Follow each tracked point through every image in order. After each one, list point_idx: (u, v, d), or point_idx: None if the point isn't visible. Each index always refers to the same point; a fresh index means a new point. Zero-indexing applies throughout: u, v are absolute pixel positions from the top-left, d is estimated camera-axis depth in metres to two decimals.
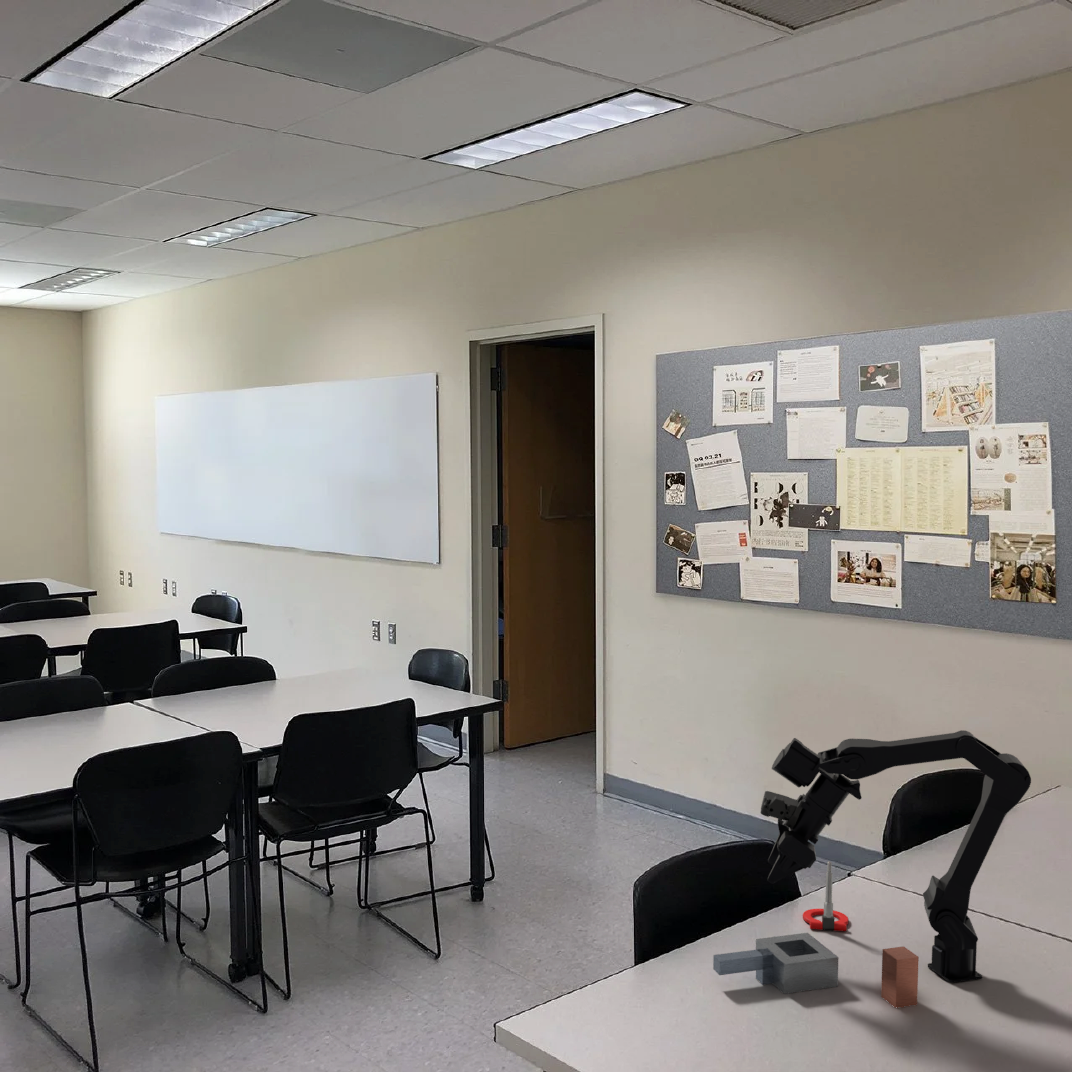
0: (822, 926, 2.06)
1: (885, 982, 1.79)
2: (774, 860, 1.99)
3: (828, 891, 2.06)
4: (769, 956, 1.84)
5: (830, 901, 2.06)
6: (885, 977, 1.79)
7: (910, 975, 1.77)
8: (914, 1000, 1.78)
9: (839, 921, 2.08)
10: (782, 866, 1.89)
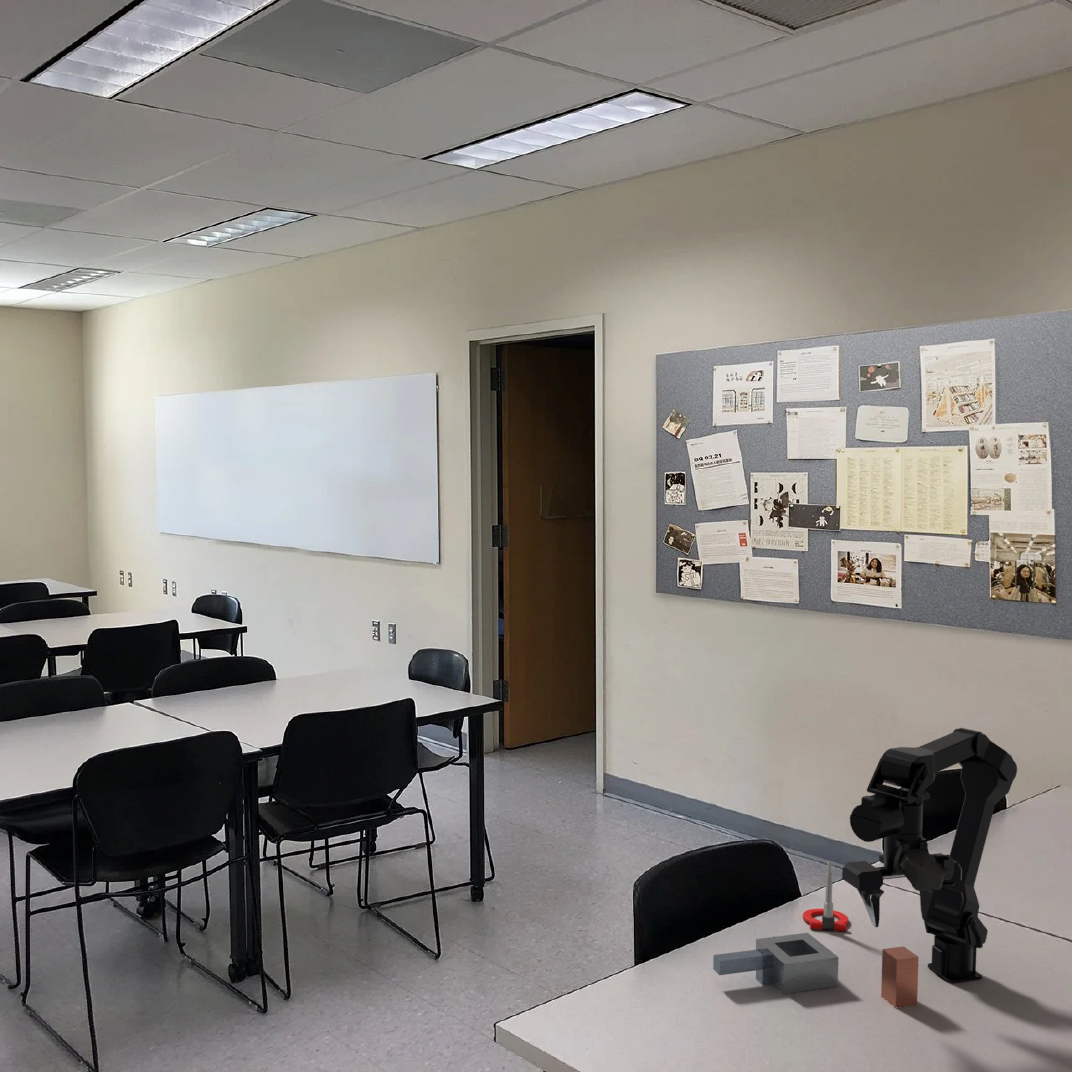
0: (822, 926, 2.06)
1: (885, 982, 1.79)
2: None
3: (828, 891, 2.06)
4: (769, 956, 1.84)
5: (830, 901, 2.06)
6: (885, 977, 1.79)
7: (910, 975, 1.77)
8: (914, 1000, 1.78)
9: (839, 921, 2.08)
10: None
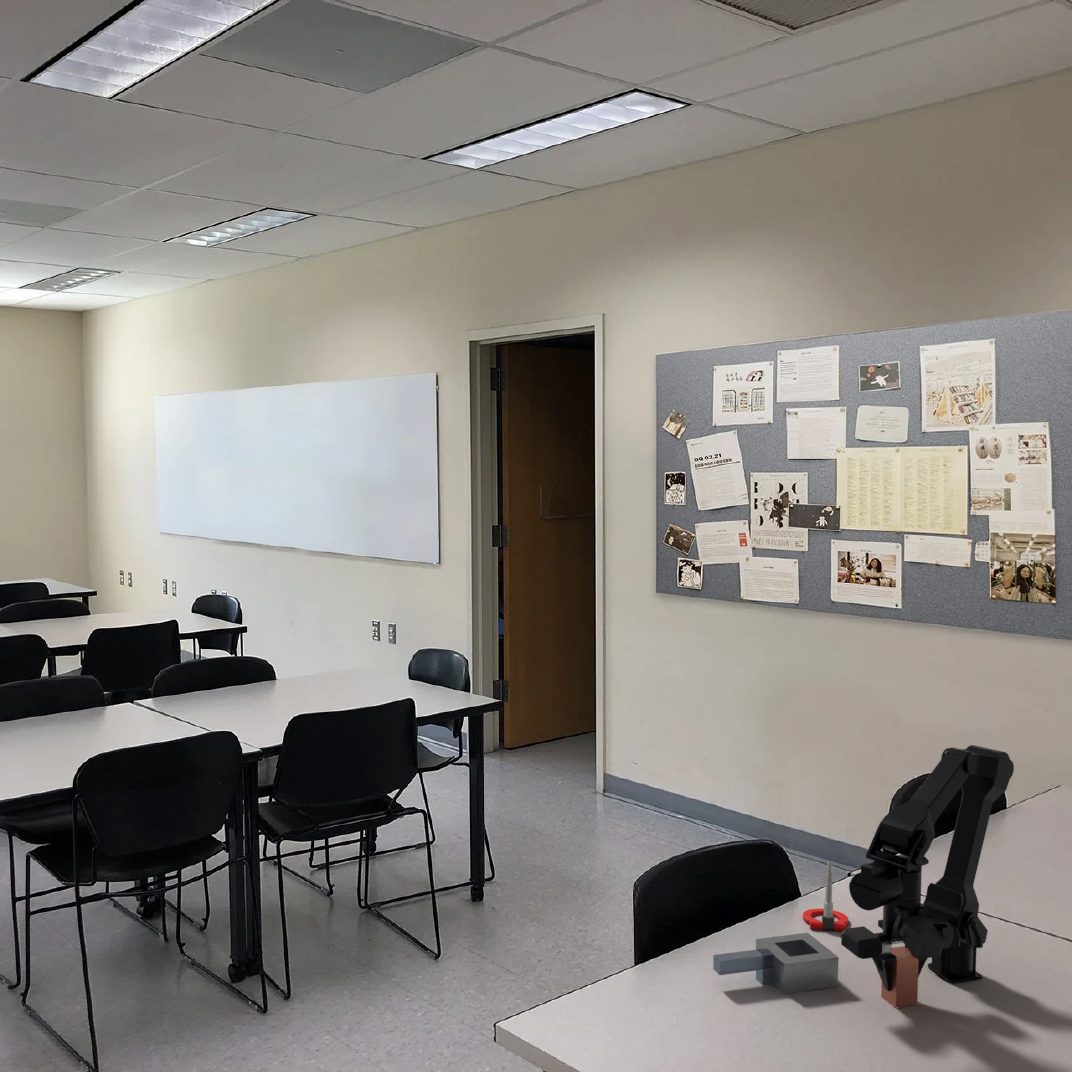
0: (822, 926, 2.06)
1: None
2: None
3: (828, 891, 2.06)
4: (769, 956, 1.84)
5: (830, 901, 2.06)
6: None
7: (910, 975, 1.77)
8: (914, 1000, 1.78)
9: (839, 921, 2.08)
10: None
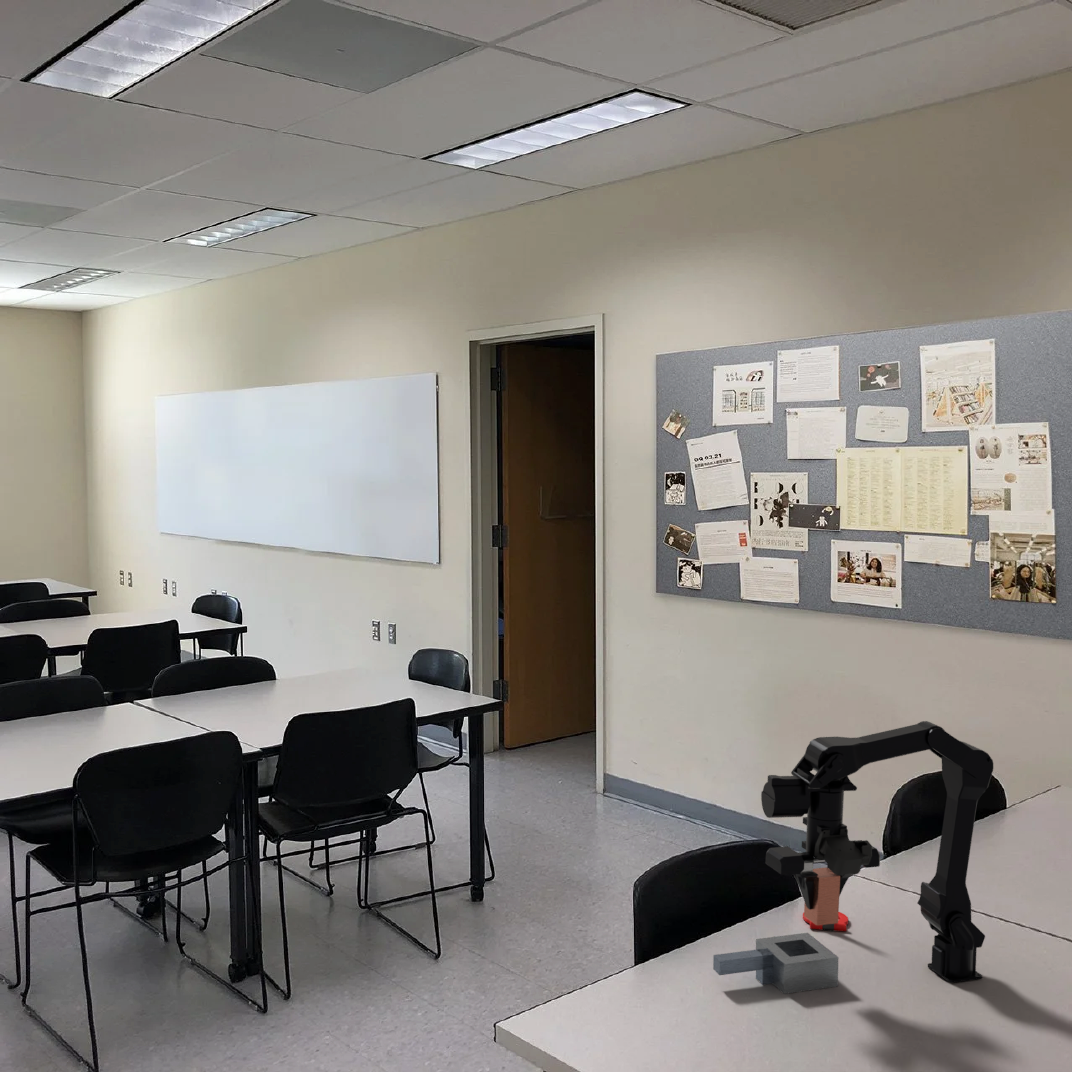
0: (822, 926, 2.06)
1: None
2: None
3: None
4: (769, 956, 1.84)
5: None
6: None
7: (831, 893, 1.82)
8: (835, 918, 1.83)
9: (839, 921, 2.08)
10: None
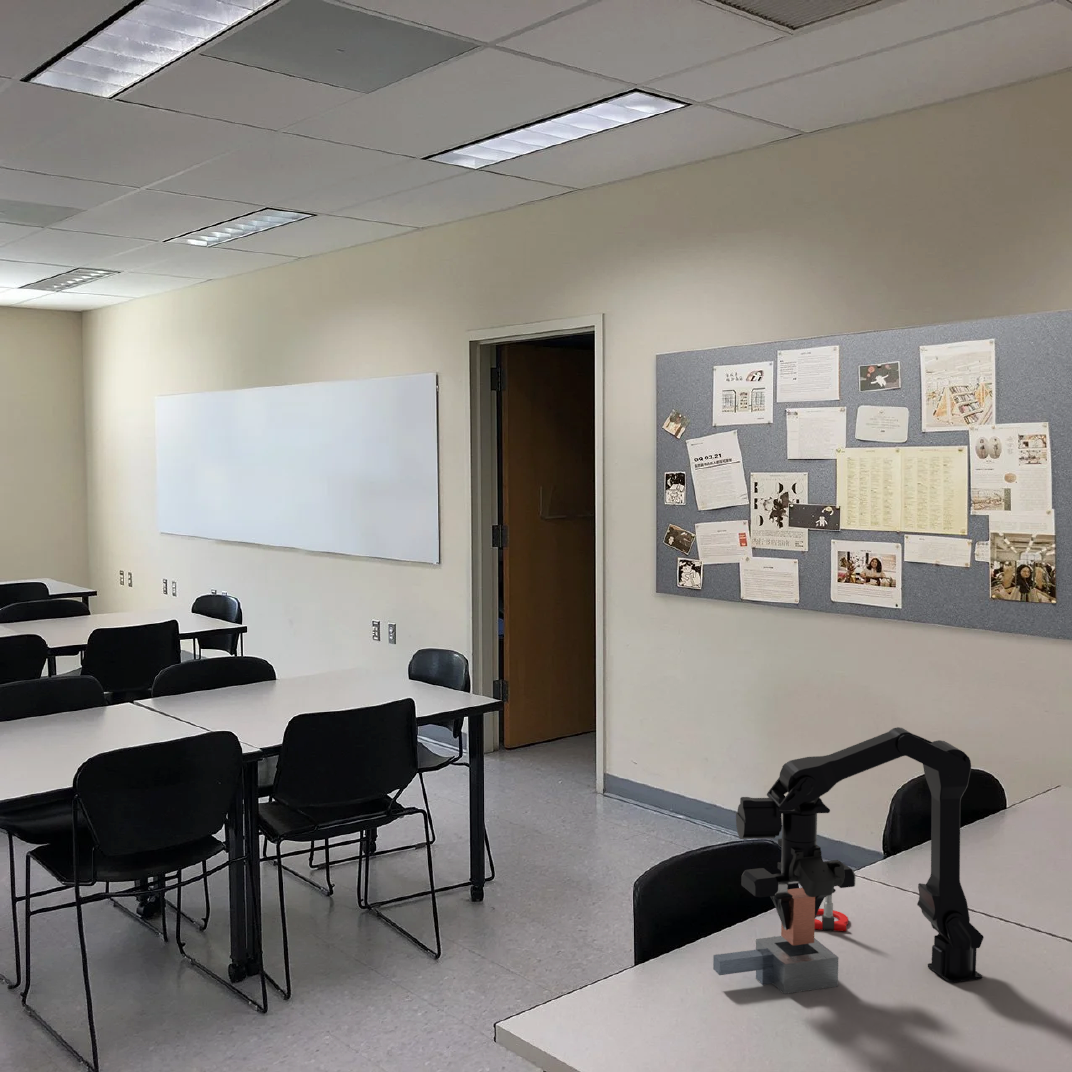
0: (822, 926, 2.06)
1: None
2: None
3: None
4: (769, 956, 1.84)
5: (830, 901, 2.06)
6: None
7: (806, 913, 1.85)
8: (811, 938, 1.85)
9: (839, 921, 2.08)
10: None
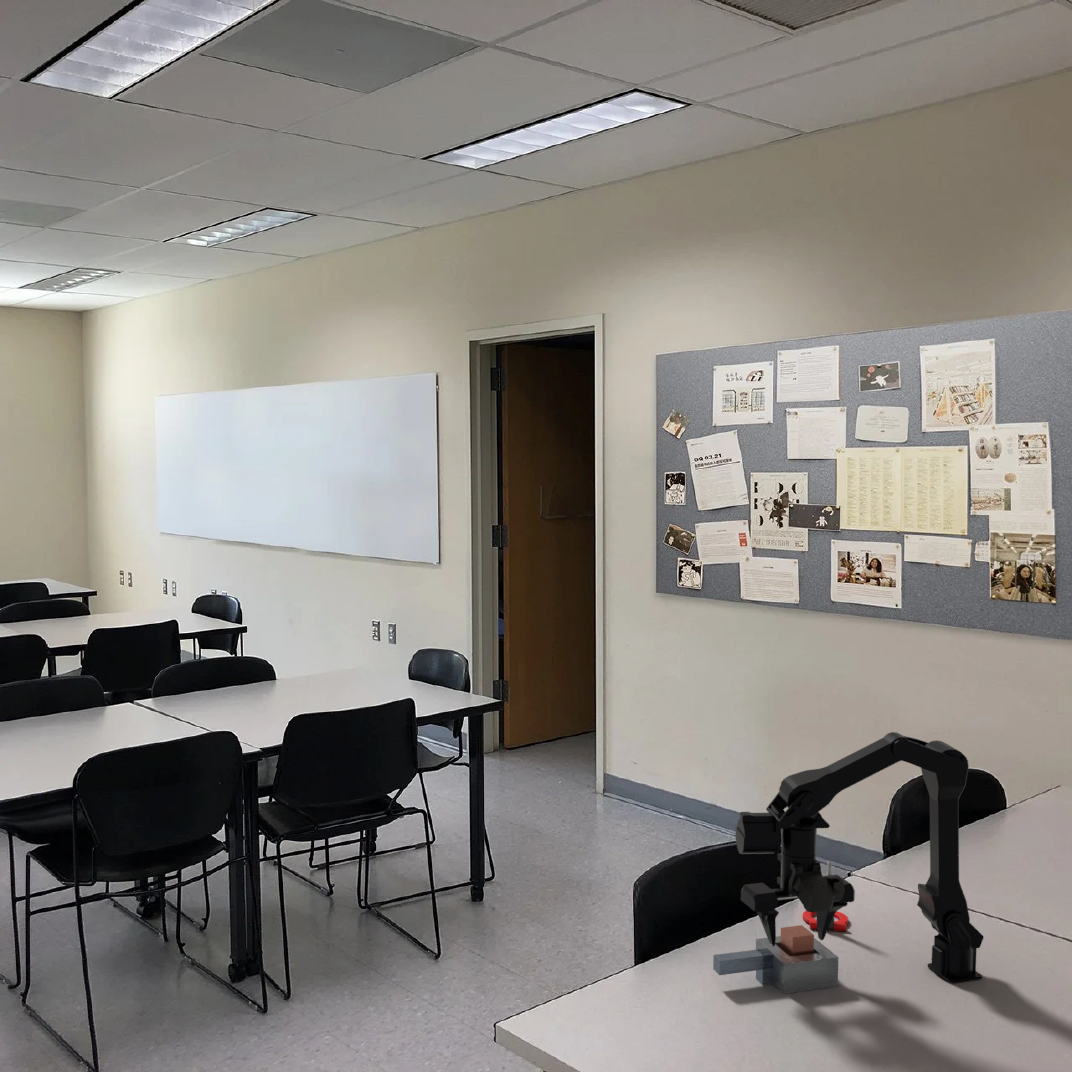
0: None
1: None
2: None
3: None
4: (769, 956, 1.84)
5: None
6: None
7: (805, 952, 1.85)
8: None
9: (839, 921, 2.08)
10: None
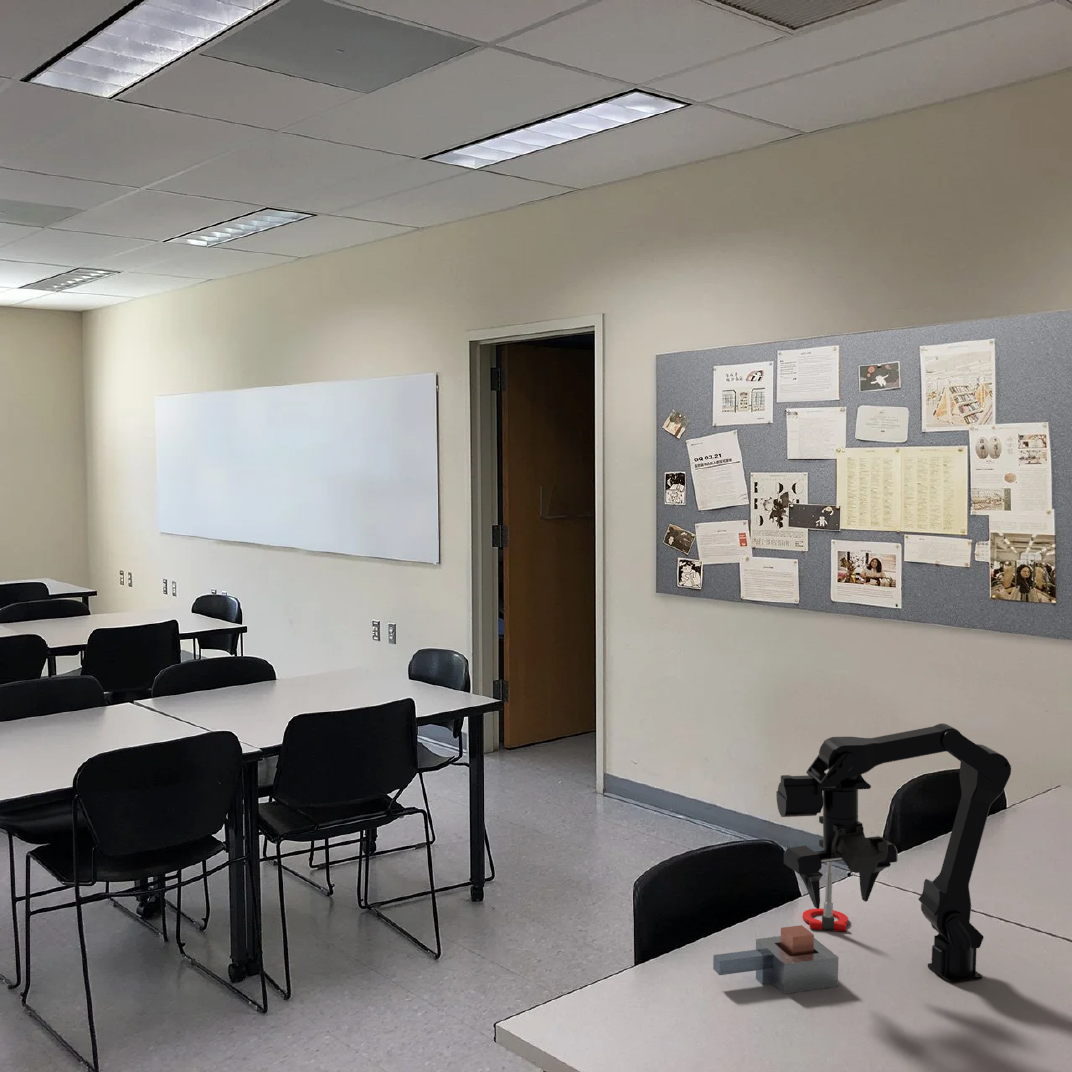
0: (822, 926, 2.06)
1: None
2: None
3: (828, 891, 2.06)
4: (769, 956, 1.84)
5: (830, 901, 2.06)
6: None
7: (805, 952, 1.85)
8: None
9: (839, 921, 2.08)
10: None
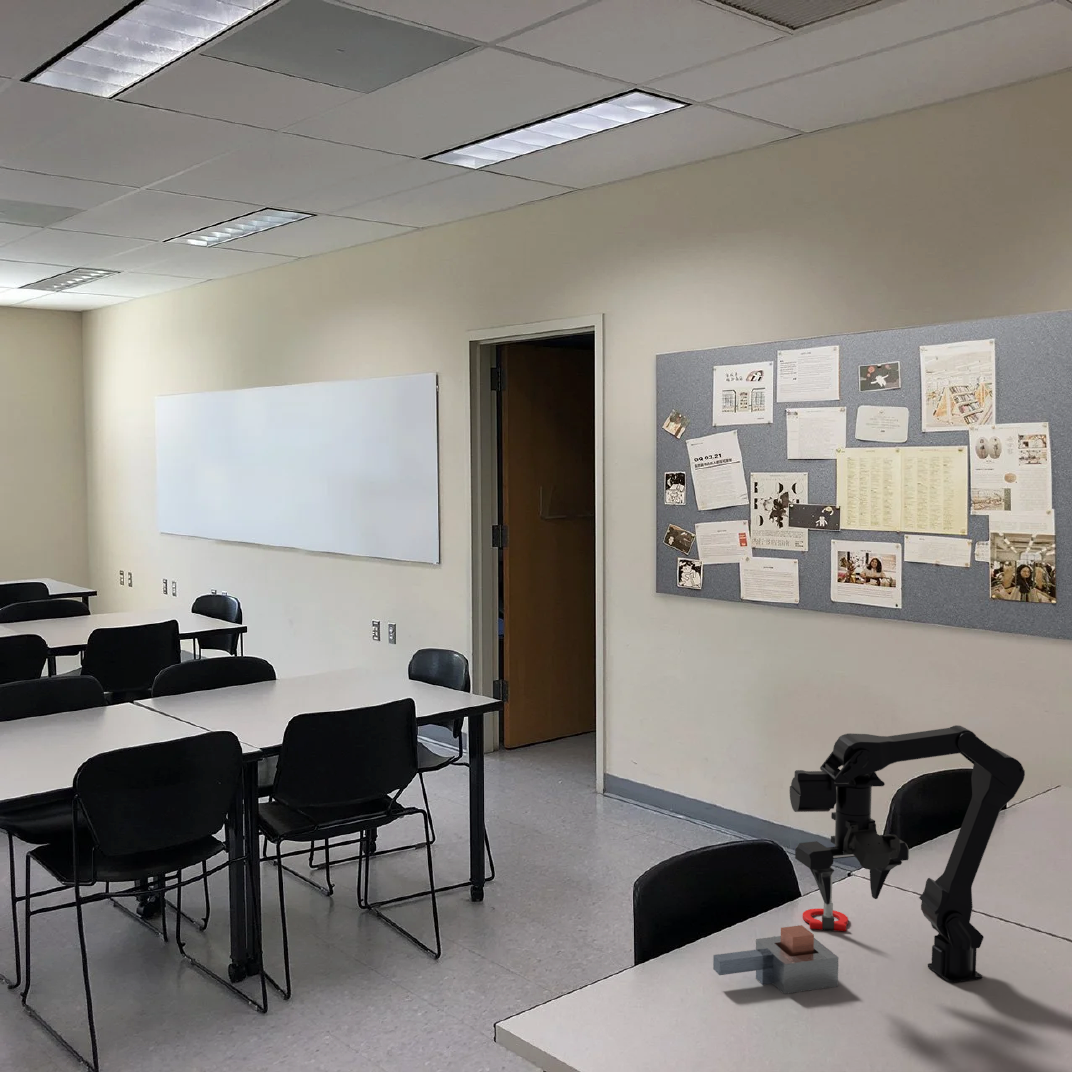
0: (822, 926, 2.06)
1: None
2: None
3: None
4: (769, 956, 1.84)
5: (830, 901, 2.06)
6: None
7: (805, 952, 1.85)
8: None
9: (839, 921, 2.08)
10: None
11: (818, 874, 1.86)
